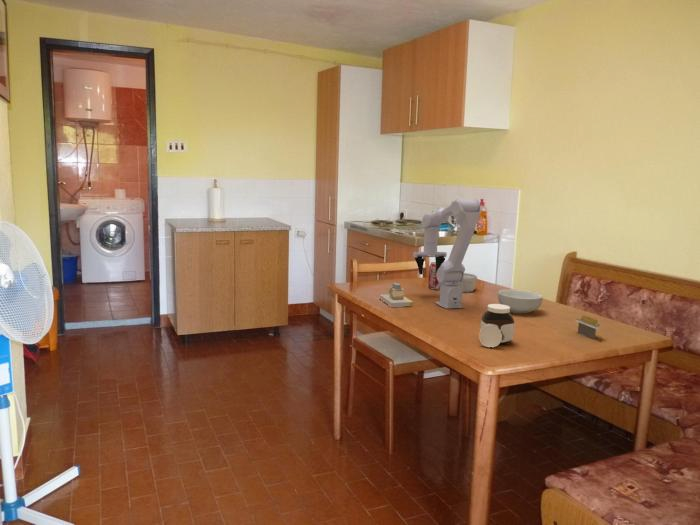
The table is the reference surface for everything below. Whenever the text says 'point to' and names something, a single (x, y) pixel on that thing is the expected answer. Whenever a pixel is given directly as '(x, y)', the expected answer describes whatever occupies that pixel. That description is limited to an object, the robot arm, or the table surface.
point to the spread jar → (496, 326)
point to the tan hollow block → (396, 293)
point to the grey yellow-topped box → (587, 326)
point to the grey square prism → (396, 286)
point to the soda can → (433, 277)
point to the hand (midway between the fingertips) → (429, 273)
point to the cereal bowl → (520, 300)
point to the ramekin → (468, 282)
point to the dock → (396, 301)
